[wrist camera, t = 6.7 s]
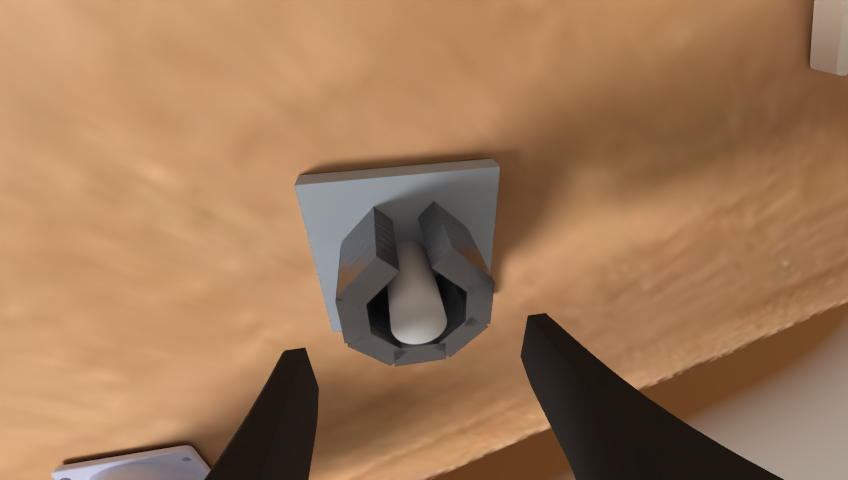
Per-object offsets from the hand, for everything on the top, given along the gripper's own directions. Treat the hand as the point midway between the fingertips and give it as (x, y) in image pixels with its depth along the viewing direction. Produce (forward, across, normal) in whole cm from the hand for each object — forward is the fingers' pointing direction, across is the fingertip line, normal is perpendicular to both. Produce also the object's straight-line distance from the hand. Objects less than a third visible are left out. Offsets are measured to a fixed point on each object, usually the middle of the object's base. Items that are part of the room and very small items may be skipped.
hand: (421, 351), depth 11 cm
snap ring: (+5, 0, 0) cm, 5 cm away
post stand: (+6, 0, 0) cm, 6 cm away
